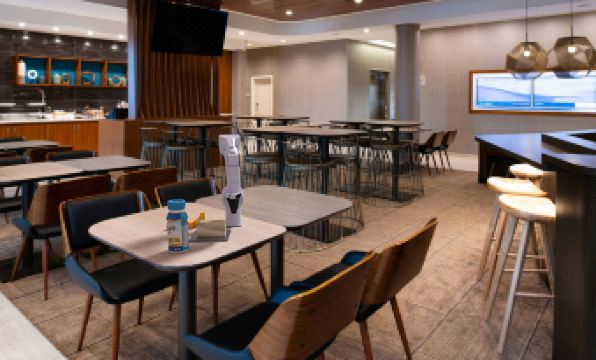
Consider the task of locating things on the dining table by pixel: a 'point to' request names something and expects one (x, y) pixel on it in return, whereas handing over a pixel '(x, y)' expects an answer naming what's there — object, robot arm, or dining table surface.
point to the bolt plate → (209, 237)
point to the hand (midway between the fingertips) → (234, 211)
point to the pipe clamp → (193, 222)
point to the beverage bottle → (177, 226)
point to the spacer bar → (211, 228)
